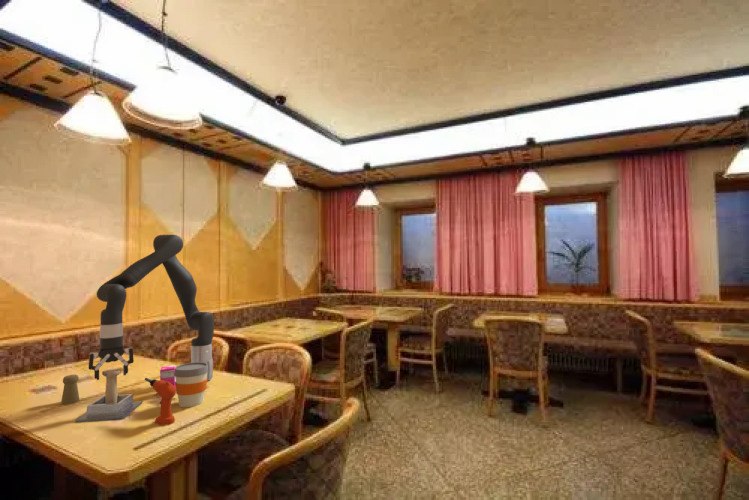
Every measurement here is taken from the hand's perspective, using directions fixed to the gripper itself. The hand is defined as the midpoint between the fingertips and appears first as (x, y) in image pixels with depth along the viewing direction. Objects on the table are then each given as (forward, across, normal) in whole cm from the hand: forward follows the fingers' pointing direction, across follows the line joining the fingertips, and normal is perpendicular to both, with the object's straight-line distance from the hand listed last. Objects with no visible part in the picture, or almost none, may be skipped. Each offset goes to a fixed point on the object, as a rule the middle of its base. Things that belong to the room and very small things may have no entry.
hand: (111, 377), depth 146 cm
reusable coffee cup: (+14, +26, -11) cm, 31 cm away
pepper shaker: (+14, -12, +25) cm, 31 cm away
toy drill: (+14, +12, -20) cm, 27 cm away
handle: (+13, 0, 0) cm, 13 cm away
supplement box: (+14, +21, +9) cm, 27 cm away
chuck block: (+13, 0, 0) cm, 13 cm away
